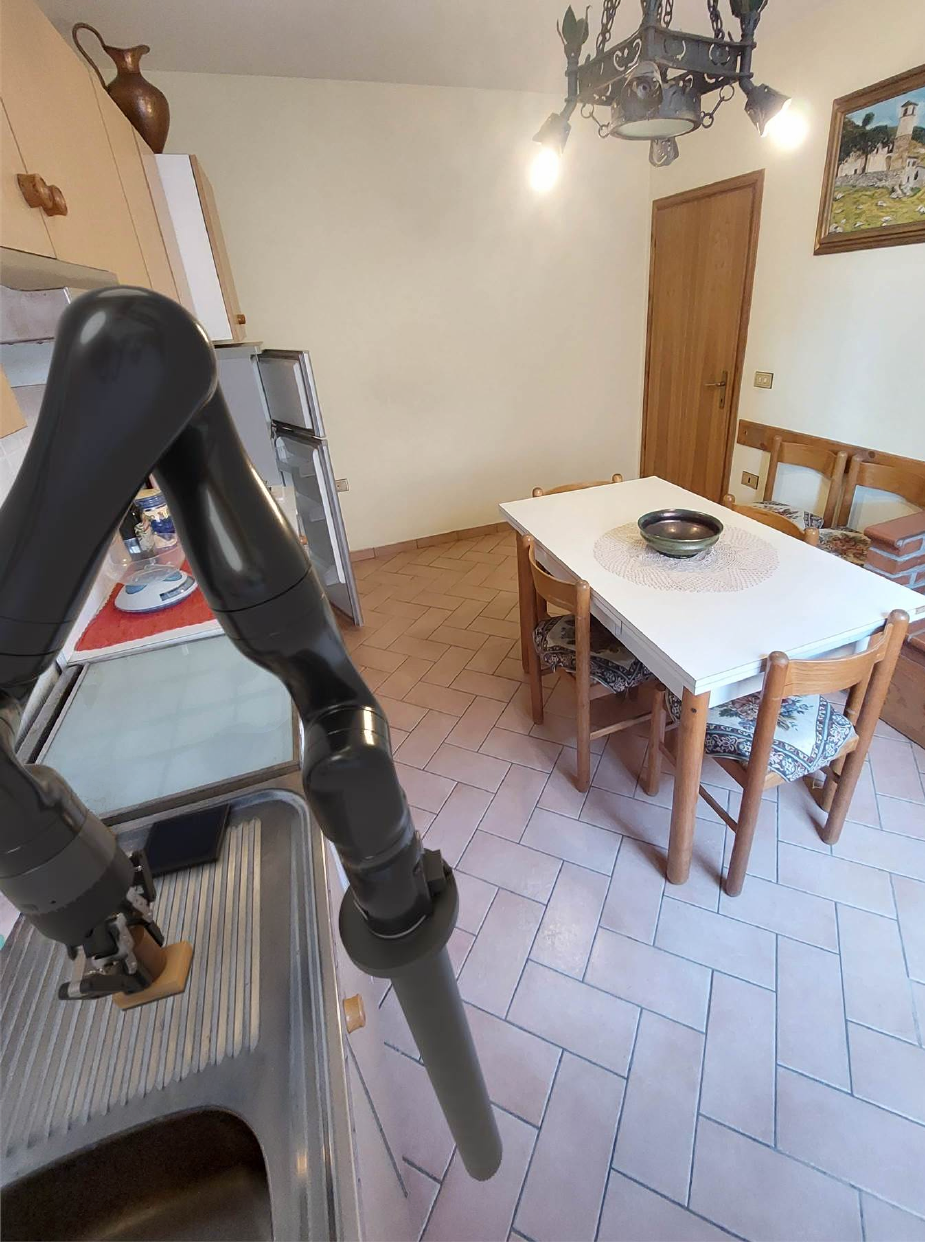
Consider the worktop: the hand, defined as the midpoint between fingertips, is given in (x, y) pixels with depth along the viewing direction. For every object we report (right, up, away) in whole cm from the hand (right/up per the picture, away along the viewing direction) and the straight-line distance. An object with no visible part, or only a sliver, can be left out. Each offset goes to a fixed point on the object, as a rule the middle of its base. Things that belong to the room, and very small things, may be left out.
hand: (147, 965), depth 57 cm
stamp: (0, -3, +2) cm, 3 cm away
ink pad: (-10, 0, +24) cm, 26 cm away
